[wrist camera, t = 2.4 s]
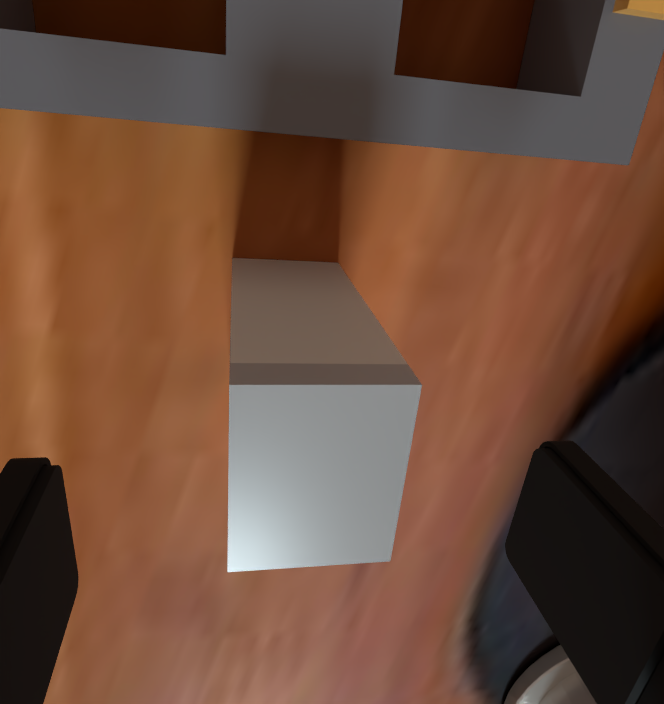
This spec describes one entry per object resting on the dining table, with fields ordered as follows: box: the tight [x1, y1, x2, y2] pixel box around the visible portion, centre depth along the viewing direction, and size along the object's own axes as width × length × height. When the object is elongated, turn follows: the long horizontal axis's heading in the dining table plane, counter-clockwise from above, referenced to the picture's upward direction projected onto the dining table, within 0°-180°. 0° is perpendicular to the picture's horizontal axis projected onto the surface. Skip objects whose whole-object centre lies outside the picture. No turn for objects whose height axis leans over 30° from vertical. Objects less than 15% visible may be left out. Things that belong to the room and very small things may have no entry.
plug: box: [228, 258, 422, 572], centre depth 16 cm, size 4×5×10 cm
